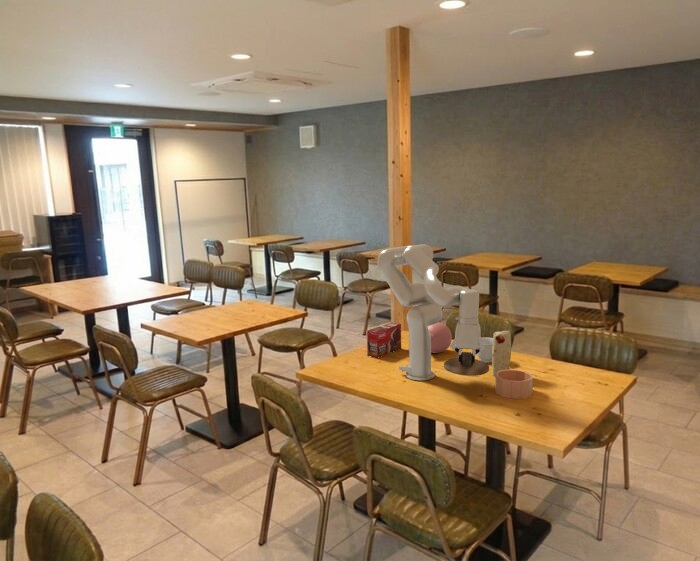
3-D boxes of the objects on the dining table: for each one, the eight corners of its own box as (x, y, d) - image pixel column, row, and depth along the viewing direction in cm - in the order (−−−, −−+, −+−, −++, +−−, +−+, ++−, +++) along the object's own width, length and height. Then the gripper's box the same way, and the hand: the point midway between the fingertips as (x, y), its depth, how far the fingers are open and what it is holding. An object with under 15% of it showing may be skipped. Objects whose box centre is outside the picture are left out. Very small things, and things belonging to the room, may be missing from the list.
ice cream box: (391, 346, 285) (391, 322, 283) (401, 349, 281) (401, 323, 279) (367, 356, 270) (366, 330, 268) (377, 358, 266) (376, 332, 264)
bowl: (497, 397, 213) (497, 380, 212) (494, 385, 227) (494, 369, 226) (534, 399, 211) (535, 382, 210) (529, 386, 224) (529, 370, 223)
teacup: (476, 354, 269) (476, 334, 267) (504, 360, 258) (504, 340, 257) (463, 360, 260) (463, 340, 258) (491, 366, 250) (491, 345, 248)
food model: (499, 379, 233) (500, 334, 230) (487, 375, 239) (488, 331, 235) (514, 374, 239) (515, 330, 235) (502, 370, 244) (503, 327, 241)
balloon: (407, 354, 272) (407, 324, 269) (435, 346, 284) (435, 317, 281) (430, 361, 260) (430, 329, 257) (458, 352, 272) (458, 322, 270)
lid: (443, 374, 214) (444, 359, 213) (443, 359, 231) (444, 345, 230) (490, 377, 211) (491, 362, 210) (487, 361, 228) (488, 347, 227)
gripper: (447, 321, 215) (445, 365, 218) (490, 323, 212) (488, 368, 216) (447, 316, 222) (445, 359, 226) (489, 318, 219) (486, 362, 223)
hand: (466, 363), depth 221 cm, fingers closed on lid, 3 cm apart
